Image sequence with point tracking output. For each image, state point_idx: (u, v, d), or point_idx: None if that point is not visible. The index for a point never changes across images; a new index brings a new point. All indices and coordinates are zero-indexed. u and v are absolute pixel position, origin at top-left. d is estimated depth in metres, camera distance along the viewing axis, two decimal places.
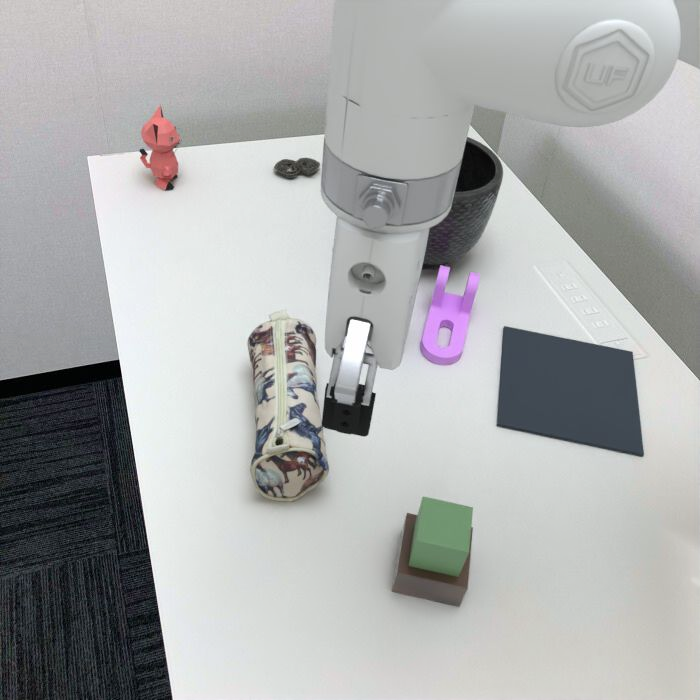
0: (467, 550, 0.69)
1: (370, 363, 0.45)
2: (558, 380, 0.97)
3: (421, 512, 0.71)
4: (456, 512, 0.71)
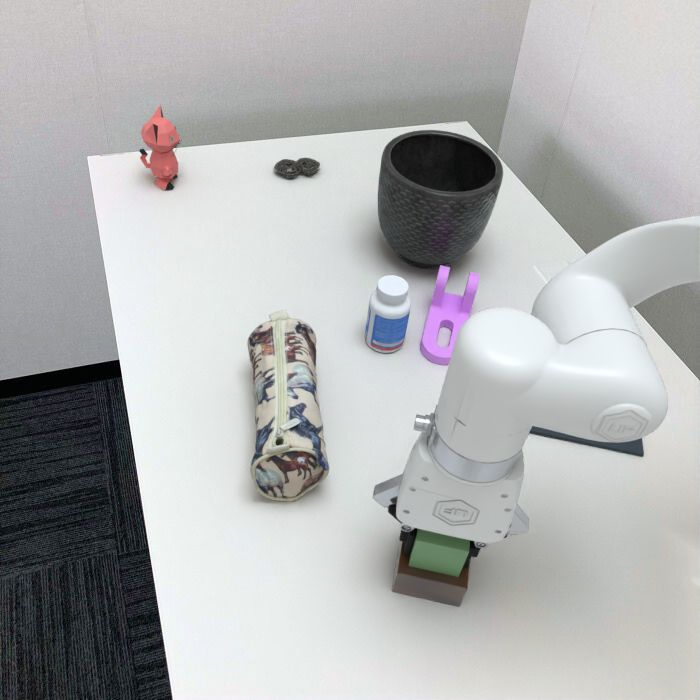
0: (467, 550, 0.69)
1: None
2: None
3: None
4: None
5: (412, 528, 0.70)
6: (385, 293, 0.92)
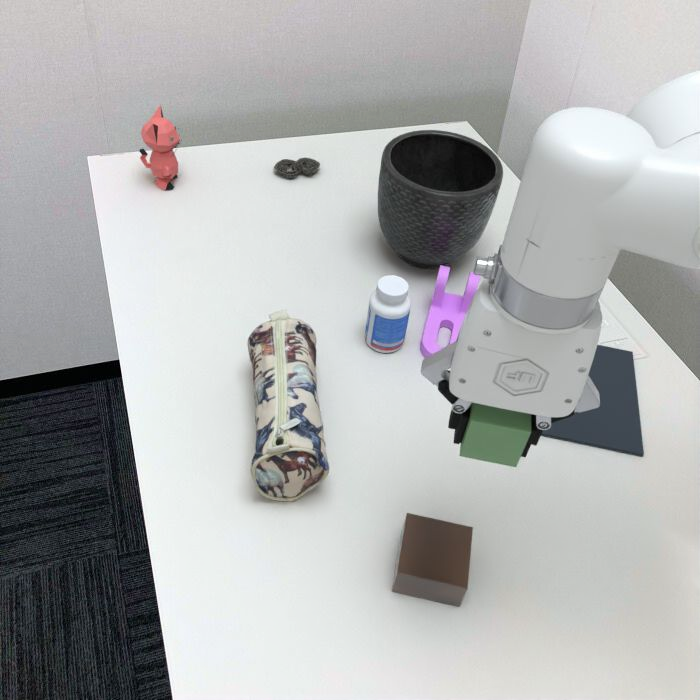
0: (529, 430, 0.60)
1: None
2: None
3: None
4: None
5: (465, 408, 0.61)
6: (385, 293, 0.92)
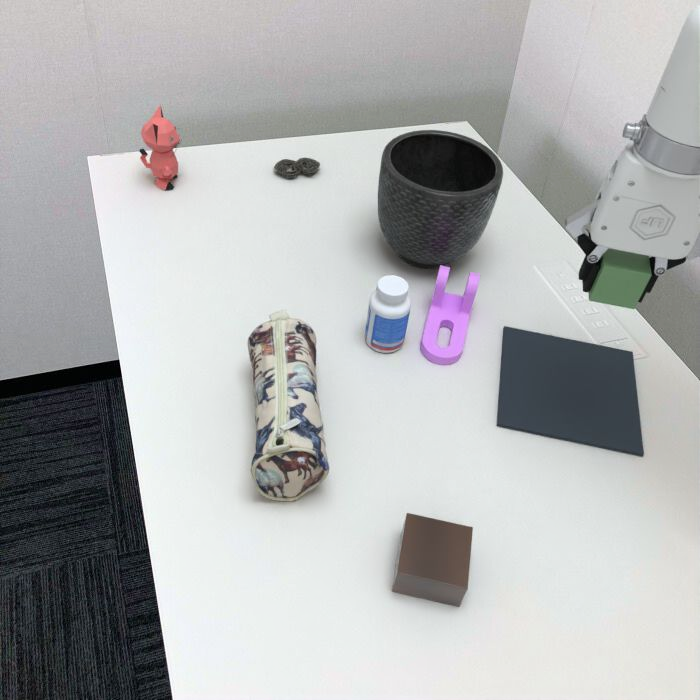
0: (650, 273, 0.77)
1: None
2: (558, 380, 0.97)
3: None
4: None
5: (598, 258, 0.78)
6: (385, 293, 0.92)
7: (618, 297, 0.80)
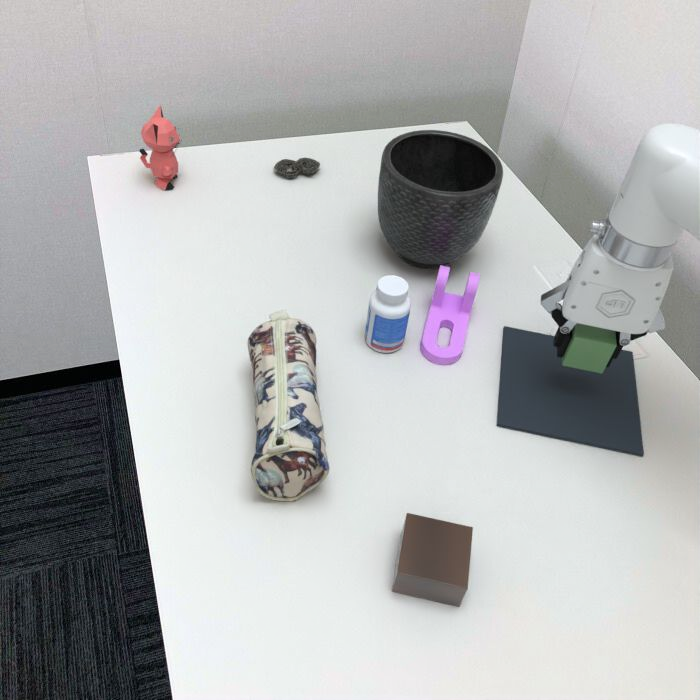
0: (615, 344, 0.87)
1: None
2: (558, 380, 0.97)
3: None
4: None
5: (570, 329, 0.88)
6: (385, 293, 0.92)
7: (588, 363, 0.90)
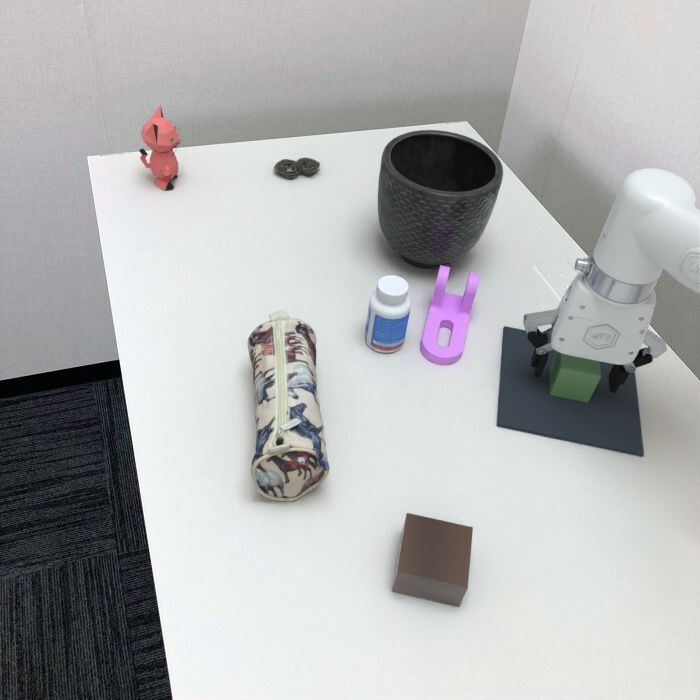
0: (599, 376, 0.91)
1: None
2: None
3: None
4: None
5: (545, 351, 0.91)
6: (385, 293, 0.92)
7: (574, 393, 0.94)
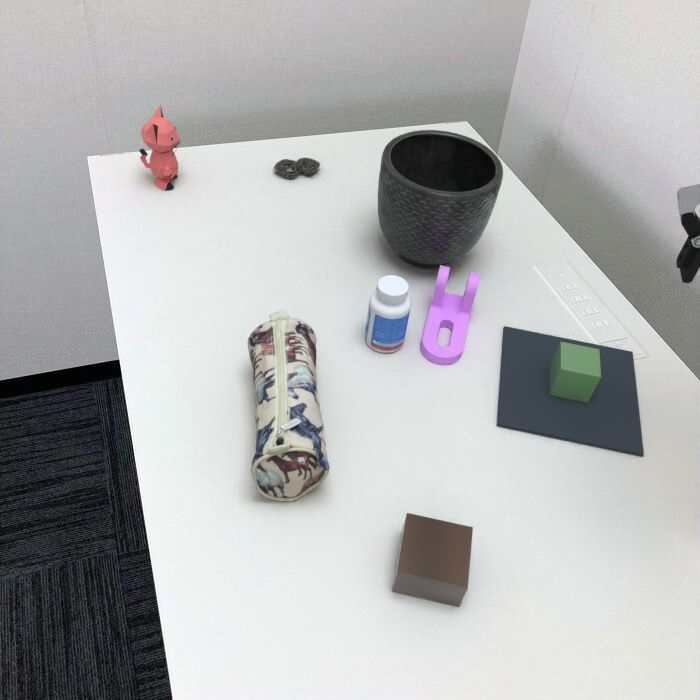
0: (599, 376, 0.91)
1: None
2: None
3: (561, 351, 0.94)
4: (587, 352, 0.94)
5: None
6: (385, 293, 0.92)
7: (574, 393, 0.94)
